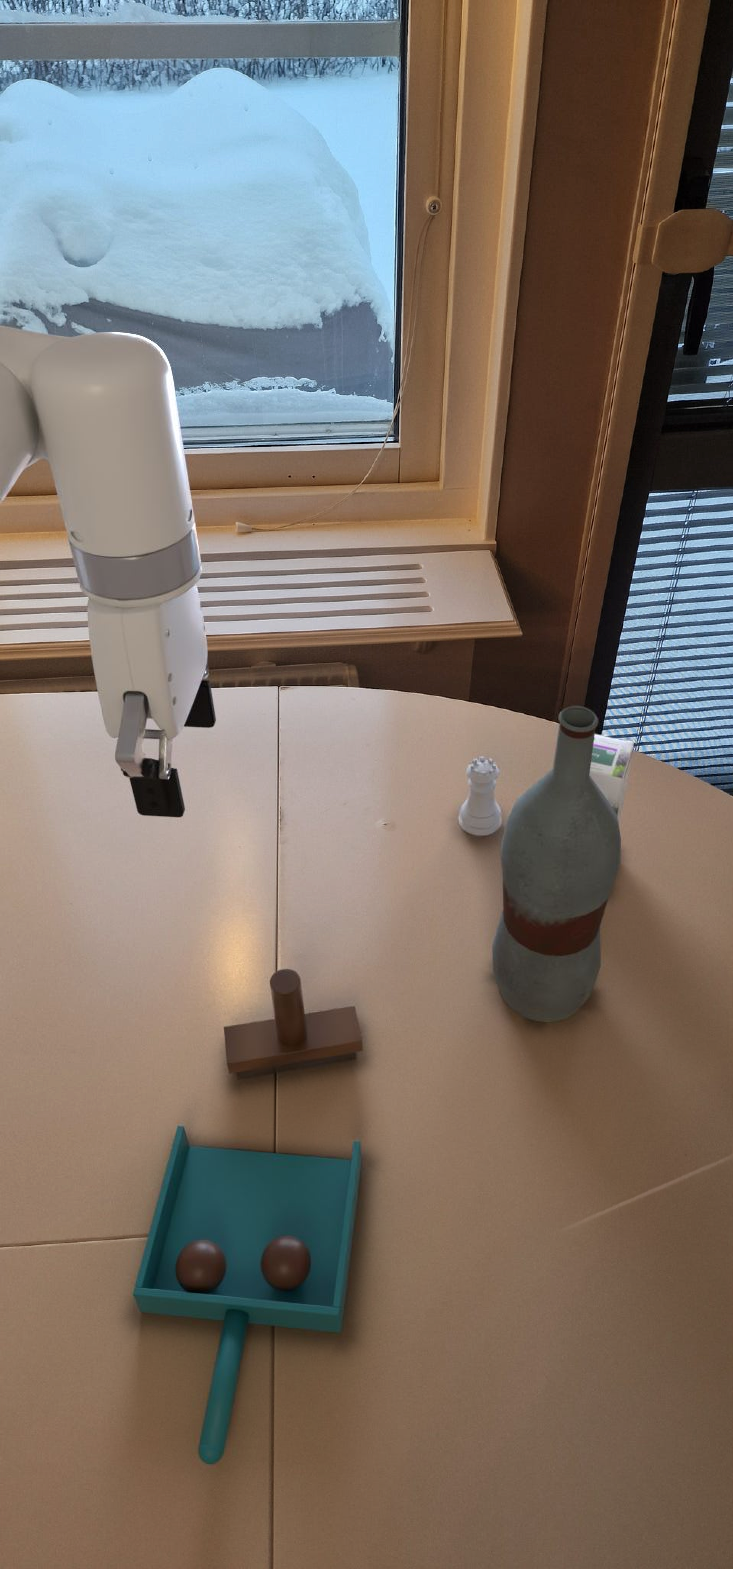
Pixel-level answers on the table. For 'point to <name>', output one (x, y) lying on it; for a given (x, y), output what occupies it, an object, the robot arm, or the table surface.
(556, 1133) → the table surface
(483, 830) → the rook chess piece
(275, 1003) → the brush
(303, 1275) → the ball right
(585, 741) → the bottle
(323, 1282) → the dustpan
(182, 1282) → the ball left
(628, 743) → the syrup box
